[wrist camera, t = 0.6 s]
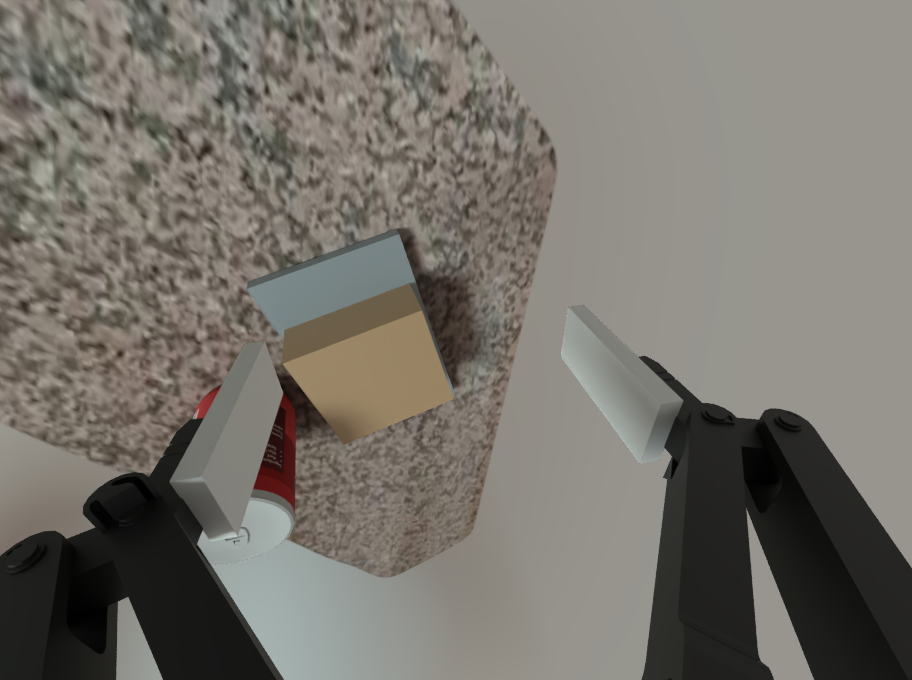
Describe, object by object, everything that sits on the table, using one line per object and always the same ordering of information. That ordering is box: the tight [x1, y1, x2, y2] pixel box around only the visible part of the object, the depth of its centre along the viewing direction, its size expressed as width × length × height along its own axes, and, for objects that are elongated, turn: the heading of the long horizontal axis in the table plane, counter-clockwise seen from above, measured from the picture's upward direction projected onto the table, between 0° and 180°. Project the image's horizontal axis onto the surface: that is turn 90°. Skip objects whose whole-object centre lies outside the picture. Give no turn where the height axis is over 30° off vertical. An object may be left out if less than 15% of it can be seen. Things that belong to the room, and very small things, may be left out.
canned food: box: [193, 385, 296, 565], centre depth 29 cm, size 8×8×11 cm
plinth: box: [247, 229, 455, 444], centre depth 31 cm, size 18×11×5 cm, turn 13°
